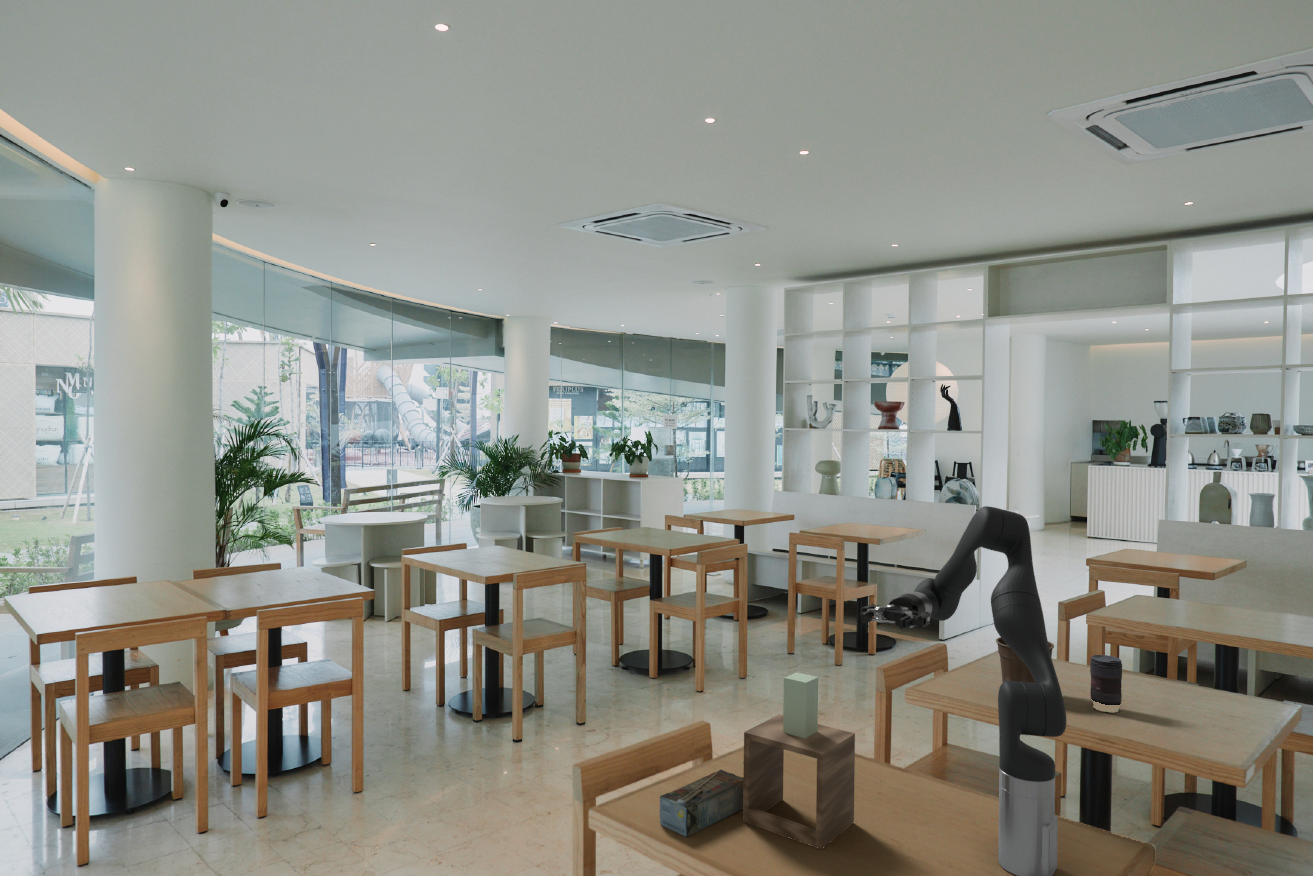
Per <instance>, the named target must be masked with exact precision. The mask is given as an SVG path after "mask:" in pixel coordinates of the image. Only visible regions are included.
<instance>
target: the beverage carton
mask: <svg viewBox="0 0 1313 876" xmlns="http://www.w3.org/2000/svg"><path fill="white" fill-rule="evenodd" d="M743 777H744V776H743ZM743 777H741V776H739V775H736V774H734V773H730V772H727V771H726V770H724V769H720V770H717V771H714V772H712V773H710V774H708V775H706V776H703V777H701V778H699V779H697V780H694V781H693V782H691V783H688V784H686V785H683V786H681V787H679V788H677V789H674V790H672V791H669V792H667V793H665V794H662V795H660V796H659V825H660V826H663V827H665V828H667V829H669V830H671V831H673V832H674V833H677V834H680V835H681V836H683V837H686V838H687V837H690V836H692V835H693V834H696V833H697V832H700V831H703V830H704V829H706V828H708V827H709V826H712V825H713V824H715V823H717V822H719V821H722V820H723V819H725V818H727V817H729V816H731V815H732V816H733V814H735V813H737V812H740V811H741V810H742V811H743Z"/></svg>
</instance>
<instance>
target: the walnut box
mask: <svg viewBox="0 0 1313 876" xmlns="http://www.w3.org/2000/svg"><path fill="white" fill-rule="evenodd" d="M855 750H856V733H854V732H851V731H848V730H843V729H839V728H836V727H830V726H828V725H827V726H826V725H823V724H819V723H818V727H817V732H816V733H814V734H812V735H811V736H809V737H807V738H802V737H798V736H794V735H791V734H787V733H784V732H783V714H779V713H778V714H777V715H775V716H772V717H771V718H770V719H767V720H765V721H763V722H761V723H759V724H757V725H755V726H754V727H752V728H750V729H747V730H744V733H743V809H742V823H745V824H748V825H751V826H753V825H754V827H756V826H758V827H757V828H759V827H760V829H762V828H763V829H762V830H764V829H765V831H767V830H768V831H767V832H770V831H771V832H770V833H773V832H775V833H774V834H776V833H777V834H776V835H778V834H781V835H784V836H786V837H785V838H787V837H790V838H792V839H795V840H797V841H796V842H798V841H801V842H803V843H802V844H804V843H806V844H810V845H812V846H814V847H813V848H815V847H818V848H819V849H818V848H817V849H818V850H820V849H822V850H823V849H824V848H823V847H825V846H826V845H827V844H828V843H829V844H831V843H830V841H832V840H833V839H834V838H835V839H837V838H838V837H839V836H840V835H841V834H842V833H844V832H845V831H846V830H847V829H848V828H850V827H851V826H852V825H854V823H855V774H856V773H855V771H856V770H855V766H856V765H855V763H856V761H855V759H856V758H855V757H856V751H855ZM784 751H789V752H792V753H795V754H799V755H803V756H807V757H809V758H813V759H815V760H816V800H815V801H816V806H815V807H816V810H815V811H816V812H815V815H816V816H815V817H816V818H815V823H816V824H815V828H814V827H811V826H807V825H805V824H802V823H798V822H796V821H793V820H790V819H788V818H786V817H785V818H784V817H782V816H779V815H776V814H773V813H770V812H768V811H769V810H771V809H772V808H773V807H775V806H776V805H777V803H778V804H779V803H780V801H781V800H782V801H784V760H785V759H784V756H785V754H784V753H785V752H784ZM782 801H781V802H782ZM775 804H776V805H775ZM774 805H775V806H774ZM771 807H772V808H771ZM853 822H854V823H853ZM851 824H852V825H851ZM850 825H851V826H850ZM849 826H850V827H849ZM846 828H847V829H846ZM845 829H846V830H845ZM844 830H845V831H844ZM843 831H844V832H843ZM841 832H842V833H841ZM839 834H840V835H839ZM781 835H780V836H781ZM838 835H839V836H838ZM784 836H783V837H784ZM837 836H838V837H837ZM836 837H837V838H836ZM790 838H789V839H790ZM792 839H791V840H792ZM835 839H834V840H835ZM795 840H794V841H795ZM834 840H833V841H834ZM833 841H832V842H833ZM801 842H800V843H801ZM806 844H805V845H806ZM829 844H828V845H829ZM828 845H827V846H828ZM812 846H811V847H812ZM827 846H826V847H827ZM826 847H825V848H826Z"/></svg>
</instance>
